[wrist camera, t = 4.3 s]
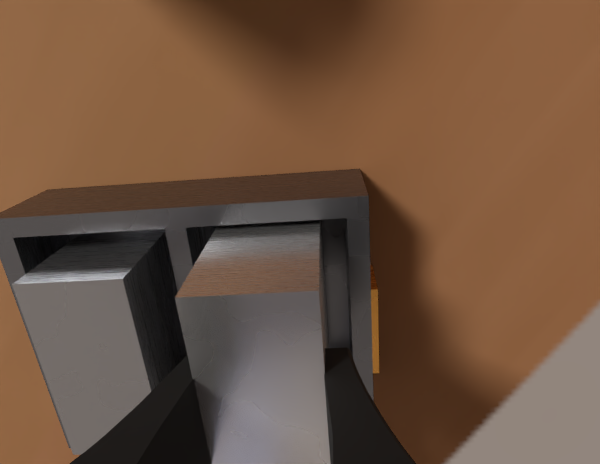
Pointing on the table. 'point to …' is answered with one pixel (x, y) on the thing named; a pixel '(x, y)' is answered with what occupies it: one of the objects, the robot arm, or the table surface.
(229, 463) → the grey block
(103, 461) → the robot arm
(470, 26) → the table surface
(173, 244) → the rack
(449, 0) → the table surface
